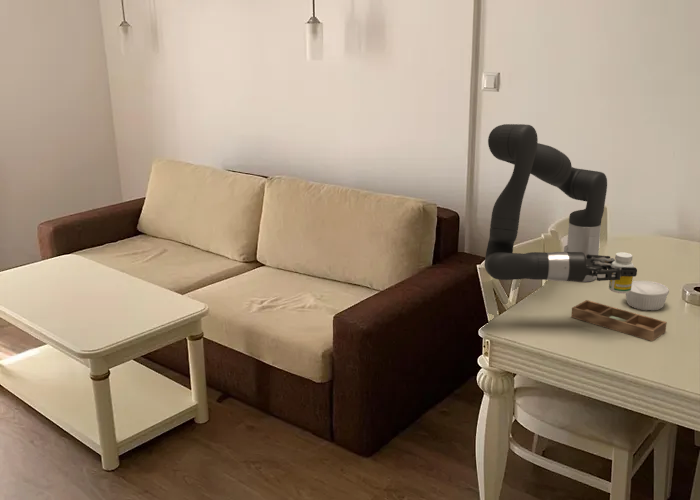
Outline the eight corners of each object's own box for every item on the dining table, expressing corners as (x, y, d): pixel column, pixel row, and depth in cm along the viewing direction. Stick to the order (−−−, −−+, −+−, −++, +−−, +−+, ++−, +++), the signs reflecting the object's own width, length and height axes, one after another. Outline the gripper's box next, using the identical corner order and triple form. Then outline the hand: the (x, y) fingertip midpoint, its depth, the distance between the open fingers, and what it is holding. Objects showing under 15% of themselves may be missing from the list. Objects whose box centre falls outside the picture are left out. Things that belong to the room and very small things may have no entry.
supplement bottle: (604, 288, 184) (607, 253, 181) (619, 285, 186) (623, 250, 183) (620, 295, 179) (624, 259, 177) (635, 291, 182) (640, 255, 179)
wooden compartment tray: (571, 317, 191) (572, 307, 190) (585, 309, 196) (586, 299, 195) (651, 341, 176) (653, 331, 175) (665, 331, 181) (666, 322, 180)
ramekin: (615, 304, 199) (616, 286, 198) (637, 294, 206) (639, 277, 204) (652, 316, 191) (654, 297, 189) (674, 305, 197) (676, 287, 196)
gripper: (571, 261, 174) (643, 263, 173) (560, 244, 188) (627, 245, 186) (568, 290, 177) (639, 292, 175) (558, 271, 190) (623, 272, 189)
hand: (632, 268), depth 181 cm, fingers closed on supplement bottle, 5 cm apart
